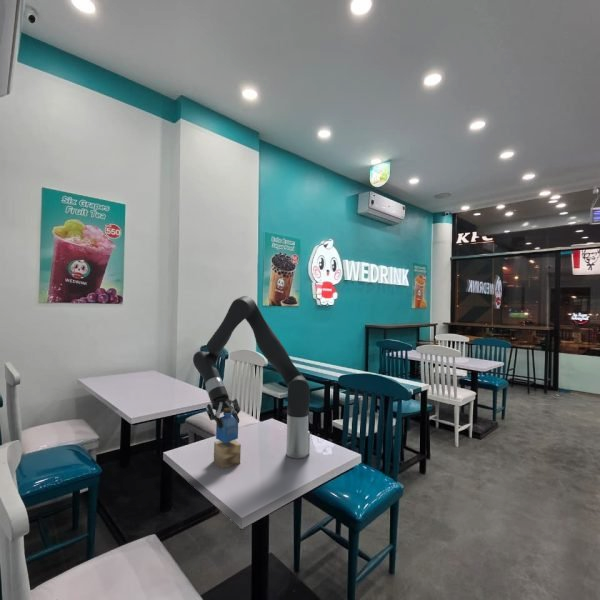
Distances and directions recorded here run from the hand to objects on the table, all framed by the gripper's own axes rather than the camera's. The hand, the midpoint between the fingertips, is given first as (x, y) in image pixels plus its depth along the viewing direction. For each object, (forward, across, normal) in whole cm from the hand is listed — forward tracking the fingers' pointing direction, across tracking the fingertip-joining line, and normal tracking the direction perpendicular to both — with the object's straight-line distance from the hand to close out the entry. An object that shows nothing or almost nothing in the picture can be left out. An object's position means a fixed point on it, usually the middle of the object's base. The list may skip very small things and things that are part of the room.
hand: (229, 425), depth 136 cm
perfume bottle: (+3, 0, +5) cm, 6 cm away
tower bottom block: (+10, 0, +12) cm, 16 cm away
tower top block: (+7, 0, +9) cm, 12 cm away
